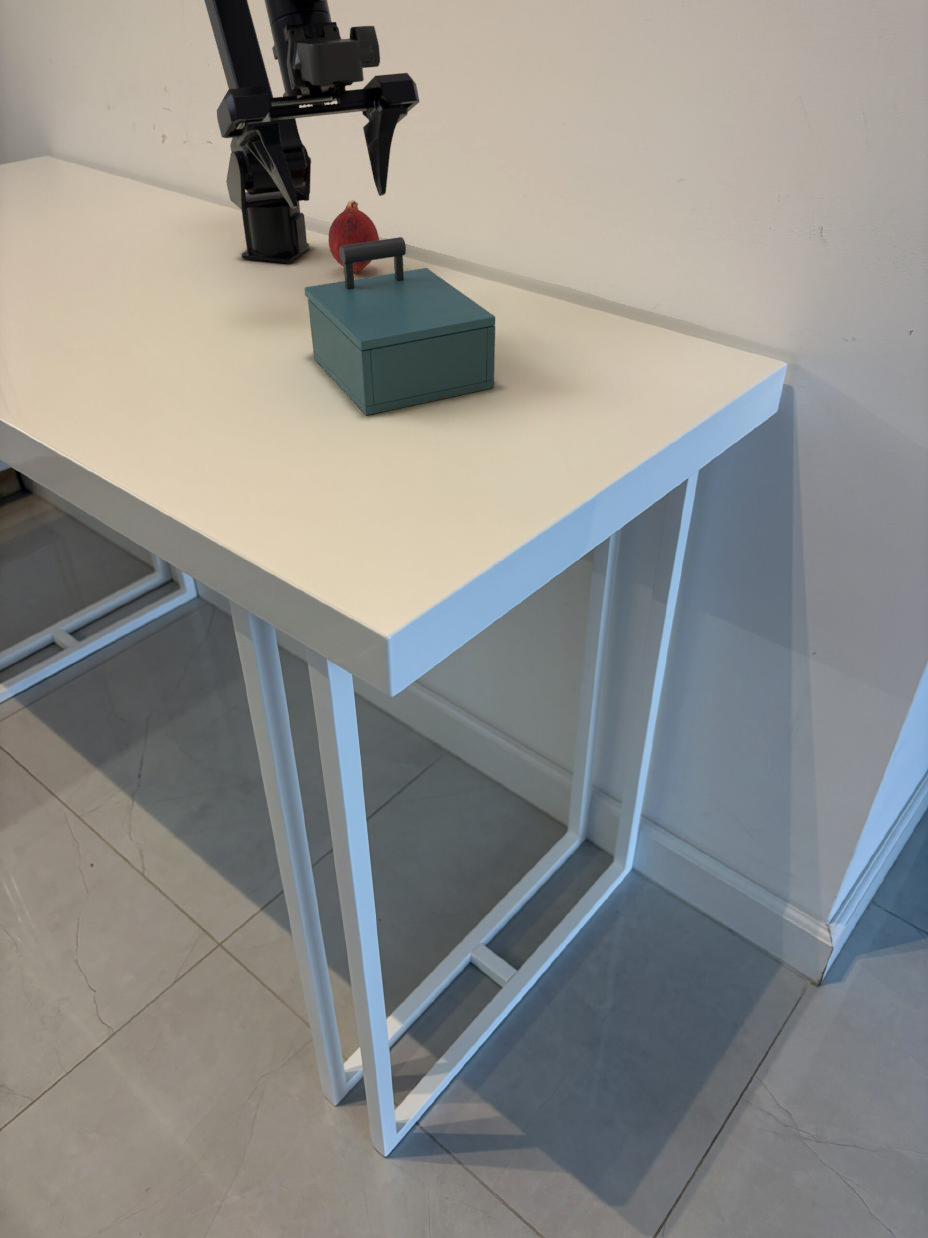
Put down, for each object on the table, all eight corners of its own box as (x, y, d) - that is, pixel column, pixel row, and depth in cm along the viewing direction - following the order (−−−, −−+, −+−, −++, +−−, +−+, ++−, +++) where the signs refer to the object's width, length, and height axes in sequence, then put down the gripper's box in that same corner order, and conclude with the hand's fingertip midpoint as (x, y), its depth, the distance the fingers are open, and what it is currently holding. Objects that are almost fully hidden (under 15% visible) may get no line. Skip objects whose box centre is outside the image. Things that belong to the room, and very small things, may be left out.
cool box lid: (304, 295, 87) (299, 244, 84) (427, 275, 92) (425, 226, 89) (361, 350, 77) (357, 295, 74) (495, 325, 82) (496, 272, 79)
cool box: (313, 358, 90) (307, 298, 87) (431, 335, 95) (430, 278, 91) (365, 415, 81) (361, 351, 77) (494, 387, 85) (495, 325, 82)
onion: (373, 283, 107) (369, 209, 102) (325, 280, 108) (318, 206, 103) (385, 266, 111) (382, 195, 106) (339, 263, 112) (333, 192, 107)
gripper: (217, -8, 77) (265, 195, 81) (423, -19, 83) (457, 169, 88) (197, 42, 87) (240, 220, 91) (382, 28, 93) (414, 195, 98)
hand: (339, 200), depth 92 cm, fingers open, 9 cm apart
